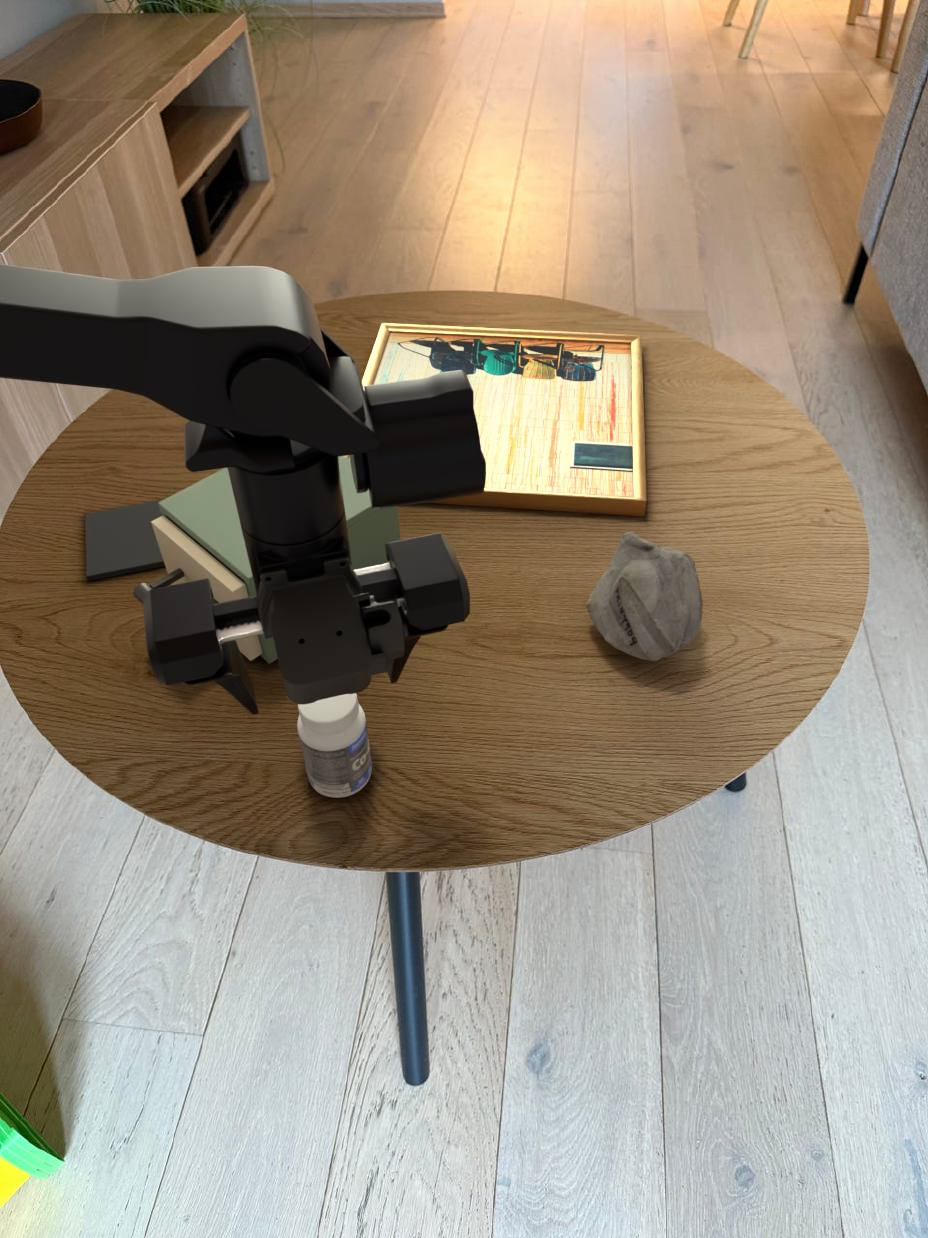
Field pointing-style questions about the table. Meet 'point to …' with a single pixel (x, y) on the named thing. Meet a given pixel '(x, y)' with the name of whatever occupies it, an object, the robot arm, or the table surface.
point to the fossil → (647, 599)
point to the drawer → (197, 573)
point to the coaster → (122, 541)
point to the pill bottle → (335, 745)
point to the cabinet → (218, 529)
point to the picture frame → (538, 411)
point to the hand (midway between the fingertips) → (324, 693)
